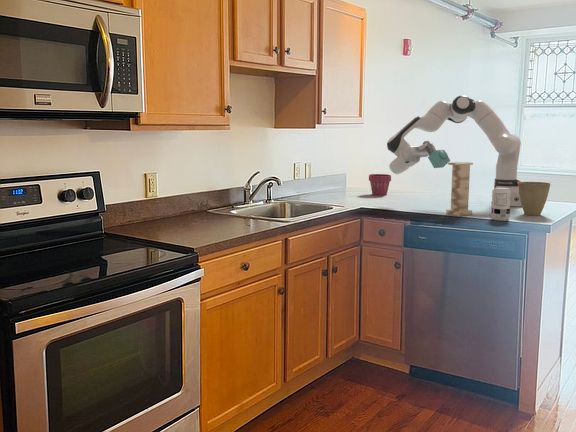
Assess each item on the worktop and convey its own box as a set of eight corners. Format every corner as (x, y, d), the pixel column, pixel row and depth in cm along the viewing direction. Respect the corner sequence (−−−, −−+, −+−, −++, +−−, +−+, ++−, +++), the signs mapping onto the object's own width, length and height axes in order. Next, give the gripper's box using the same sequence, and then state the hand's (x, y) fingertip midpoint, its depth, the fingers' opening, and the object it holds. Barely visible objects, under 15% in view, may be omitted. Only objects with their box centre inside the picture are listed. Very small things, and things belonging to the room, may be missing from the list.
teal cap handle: (419, 143, 308) (428, 135, 303) (428, 143, 312) (437, 134, 306) (434, 168, 301) (442, 160, 296) (443, 167, 305) (451, 159, 300)
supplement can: (487, 218, 282) (489, 187, 280) (501, 217, 285) (502, 186, 282) (498, 221, 275) (500, 189, 272) (513, 220, 277) (514, 188, 275)
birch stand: (446, 213, 296) (448, 162, 292) (457, 212, 302) (459, 161, 297) (460, 216, 289) (462, 163, 285) (472, 214, 294) (474, 162, 290)
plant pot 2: (553, 214, 293) (555, 182, 290) (540, 217, 283) (542, 185, 280) (524, 211, 304) (526, 180, 301) (510, 214, 293) (512, 182, 291)
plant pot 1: (394, 195, 368) (395, 175, 366) (374, 196, 364) (374, 176, 362) (384, 193, 382) (385, 173, 380) (364, 193, 378) (365, 174, 376)
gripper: (427, 160, 323) (444, 149, 312) (400, 162, 311) (418, 150, 300) (423, 150, 324) (440, 138, 314) (396, 152, 313) (413, 139, 302)
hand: (429, 144), depth 307 cm, fingers closed on teal cap handle, 3 cm apart
